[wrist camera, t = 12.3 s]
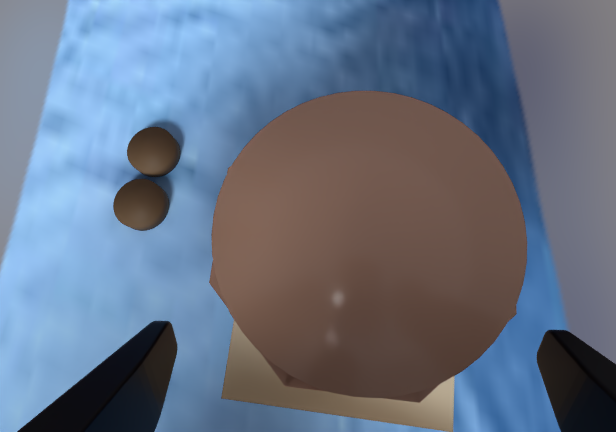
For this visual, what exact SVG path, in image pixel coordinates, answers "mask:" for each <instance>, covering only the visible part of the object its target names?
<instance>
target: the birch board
mask: <svg viewBox="0 0 616 432" xmlns="http://www.w3.org/2000/svg"><path fill="white" fill-rule="evenodd" d="M221 398H223V399H229V400H236V401H243V402H250V403H257V404H264V405H271V406H277V407H284V408H291V409H298V410H305V411H312V412H319V413H325V414H332V415H339V416H346V417H353V418H360V419H367V420H373V421H380V422H387V423H394V424H401V425H408V426H415V427H422V428H428V429H435V430H442V431H449V432H453V409H454V376H453V377H451V378H450V379H448V380H446V381H444V382H443V383H441V384H440V385H438V386H437V387H436V388H435V389H434V390H433V391H432V392H431V393H430V394H429V395H428V396H427V397H425V398H424V399H423V400H422V401H421V402H420V403H417V402H409V401H401V400H393V399H384V398H365V397H352V396H347V395H341V394H336V393H331V392H327V391H318V390H310V389H302V388H294V387H285V386H284V384H283V383H282V382H281V380H280V379H279V377H278V376H277V375H276V373H275V372H274V371H273V369H272V368H271V367H270V365H269V364H268V362H267V361H266V360H265V358H264V357H263V356H262V354H261V353H260V351H259V350H257V349H256V348H255V347H254V345H253V344H252V343H251V342H250V341H249V339H248V338H247V337H246V336H245V335H244V333H243V332H242V331H241V329H240V328H239V326H238V325H237V323H236V322H235V320H234V323H233V329H232V335H231V342H230V348H229V354H228V360H227V366H226V372H225V378H224V385H223V391H222V397H221Z"/></svg>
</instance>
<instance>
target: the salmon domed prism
mask: <svg viewBox="0 0 616 432" xmlns="http://www.w3.org/2000/svg"><path fill="white" fill-rule="evenodd" d="M212 256H213V263H212V269H211V275H210V281H209V283H210V284H211V286H212V287H213V289H214V290H215V291H216V293H217V294H218V295H219V297H220V298H221V299H222V301H223V302H224V304H225V305H226V306H227V308H228V309H229V312H230V314H231V315H232V317H233V318H234V320H235V322H236V323H237V325H238V326H239V328H240V329H241V331H242V332H243V333H244V335H245V336H246V337H247V338H248V339H249V341H250V342H251V343H252V344H253V345H254V347H255V348H256V349H257V350H259V351H260V353H261V354H262V356H263V357H264V358H265V360H266V361H267V362H268V364H269V365H270V367H271V368H272V369H273V371H274V372H275V373H276V375H277V376H278V377H279V379H280V380H281V382H282V383H283V384H284V386H285V387H294V388H302V389H310V390H318V391H327V392H331V393H336V394H341V395H347V396H352V397H365V398H384V399H393V400H401V401H409V402H417V403H420V402H421V401H422V400H423V399H424V398H425V397H427V396H428V395H429V394H430V393H431V392H432V391H433V390H434V389H435V388H436V387H437V386H438V385H440V384H441V383H443V382H444V381H446V380H448V379H450V378H451V377H453V376H455V375H457V374H458V373H460V372H462V371H463V370H464V369H466V368H467V367H468V366H469V365H471V364H472V363H473V362H474V361H476V360H477V359H478V358H479V357H480V356H481V355H482V354H483V353H484V352H485V351H486V350H487V349H488V348H489V347H490V346H491V345H492V344H493V343H494V341H495V340H496V339H497V337H498V336H499V334H500V333H501V331H502V330H503V329H504V327H505V326H506V324H507V322H508V321H509V320H510V319H512V318H513V317H514V316H515V315H516V304H517V301H518V298H519V295H520V292H521V289H522V286H523V281H524V275H525V269H526V264H527V237H526V227H525V221H524V216H523V212H522V208H521V204H520V201H519V199H518V196H517V193H516V191H515V188H514V186H513V183H512V182H511V180H510V178H509V176H508V174H507V172H506V171H505V169H504V167H503V165H502V164H501V163H500V161H499V160H498V159H497V157H496V156H495V154H494V153H493V152H492V150H491V149H490V148H489V147H488V146H487V145H486V144H485V143H484V142H483V141H482V140H481V138H480V137H479V136H478V135H476V134H475V133H474V132H473V131H472V130H471V129H469V128H468V127H467V126H466V125H465V124H463V123H462V122H460V121H459V120H457V119H456V118H454V117H453V116H451V115H450V114H448V113H447V112H445V111H443V110H441V109H439V108H437V107H435V106H433V105H431V104H428V103H426V102H423V101H420V100H417V99H415V98H412V97H408V96H403V95H399V94H395V93H388V92H380V91H350V92H342V93H335V94H331V95H327V96H322V97H319V98H316V99H313V100H310V101H308V102H305V103H302V104H300V105H298V106H296V107H294V108H292V109H290V110H288V111H286V112H285V113H283V114H282V115H280V116H279V117H277V118H276V119H274V120H273V121H271V122H270V123H269V124H267V125H266V126H265V127H264V128H263V129H262V130H260V131H259V132H258V133H257V134H256V135H255V136H254V137H253V138H252V139H251V140H250V142H249V143H248V144H247V145H246V146H245V147H244V148H243V150H242V151H241V153H240V154H239V155H238V157H237V158H236V160H235V161H234V162H233V164H232V166H230V167H229V168H228V172H227V176H226V177H225V179H224V182H223V185H222V187H221V190H220V193H219V195H218V199H217V203H216V207H215V211H214V216H213V226H212Z"/></svg>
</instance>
